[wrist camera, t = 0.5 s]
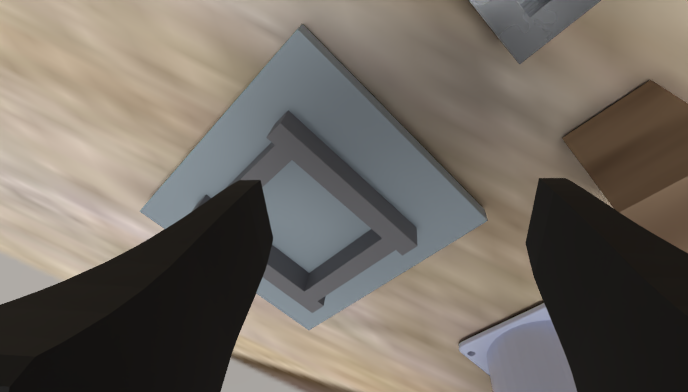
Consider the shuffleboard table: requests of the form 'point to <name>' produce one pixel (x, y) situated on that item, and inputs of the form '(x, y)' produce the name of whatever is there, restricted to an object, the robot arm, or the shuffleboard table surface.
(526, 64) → the shuffleboard table surface
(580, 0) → the control box
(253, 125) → the board
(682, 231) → the block
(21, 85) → the shuffleboard table surface
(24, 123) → the shuffleboard table surface
